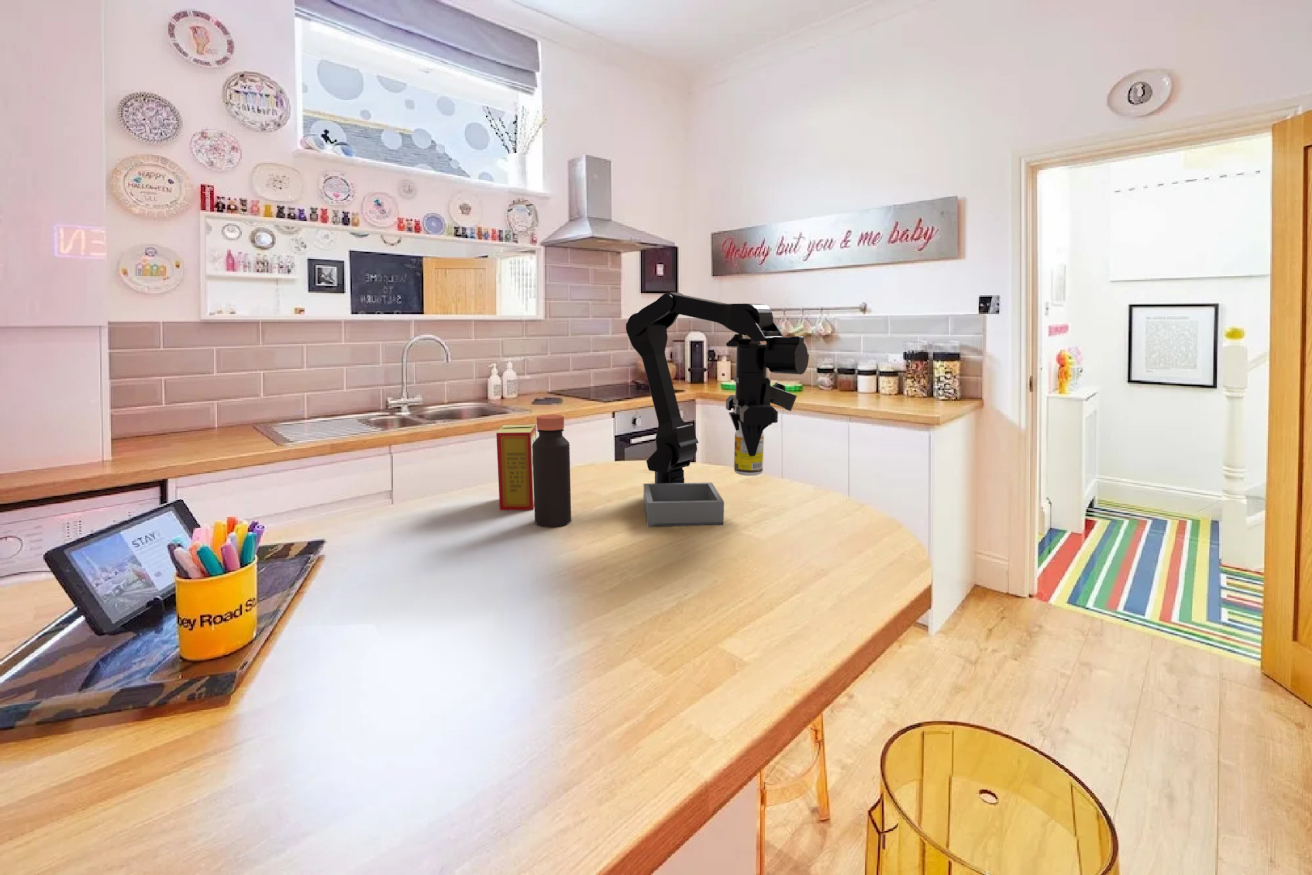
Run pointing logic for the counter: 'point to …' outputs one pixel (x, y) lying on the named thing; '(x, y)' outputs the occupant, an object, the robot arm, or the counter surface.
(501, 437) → the baking soda box
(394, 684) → the counter surface
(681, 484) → the box
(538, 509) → the vinegar
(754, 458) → the supplement bottle
